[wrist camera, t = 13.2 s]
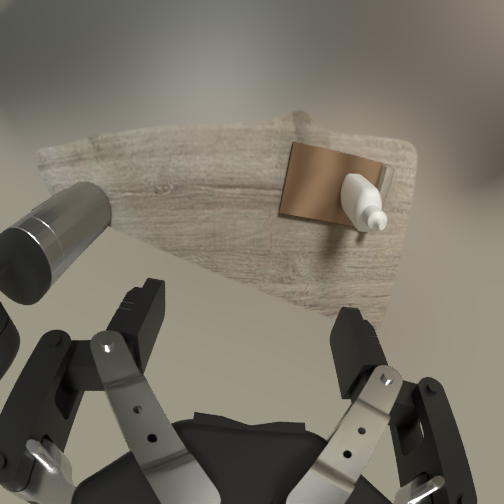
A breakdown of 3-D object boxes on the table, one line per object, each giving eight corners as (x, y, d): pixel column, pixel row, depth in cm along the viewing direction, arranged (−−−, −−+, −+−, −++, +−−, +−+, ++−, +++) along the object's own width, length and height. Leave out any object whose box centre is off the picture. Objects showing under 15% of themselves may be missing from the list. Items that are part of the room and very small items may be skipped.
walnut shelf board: (279, 210, 43) (280, 218, 40) (292, 141, 38) (295, 144, 35) (369, 227, 44) (375, 235, 41) (387, 164, 39) (395, 169, 36)
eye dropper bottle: (328, 200, 41) (351, 238, 30) (350, 167, 38) (382, 194, 28) (352, 215, 42) (380, 256, 31) (374, 184, 39) (410, 215, 29)
